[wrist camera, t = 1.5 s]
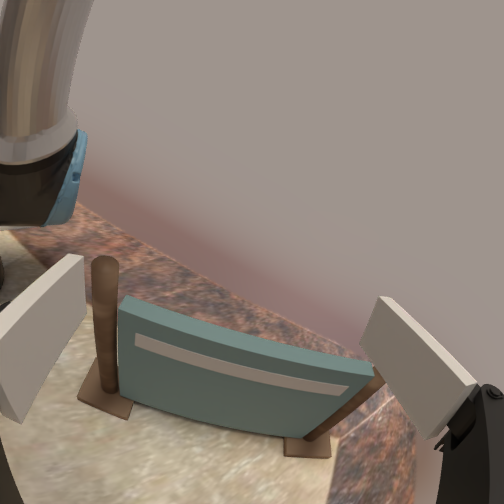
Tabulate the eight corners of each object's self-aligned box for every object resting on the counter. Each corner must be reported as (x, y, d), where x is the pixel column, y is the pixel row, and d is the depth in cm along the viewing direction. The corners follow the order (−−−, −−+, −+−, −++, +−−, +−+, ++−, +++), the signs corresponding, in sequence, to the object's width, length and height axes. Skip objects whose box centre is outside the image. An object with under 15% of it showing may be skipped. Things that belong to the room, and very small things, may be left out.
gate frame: (77, 399, 23) (47, 274, 15) (96, 360, 29) (90, 231, 20) (328, 458, 27) (435, 381, 18) (324, 419, 32) (414, 332, 23)
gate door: (119, 395, 25) (117, 309, 18) (124, 383, 27) (126, 294, 20) (301, 438, 28) (374, 376, 21) (300, 426, 29) (370, 361, 22)
